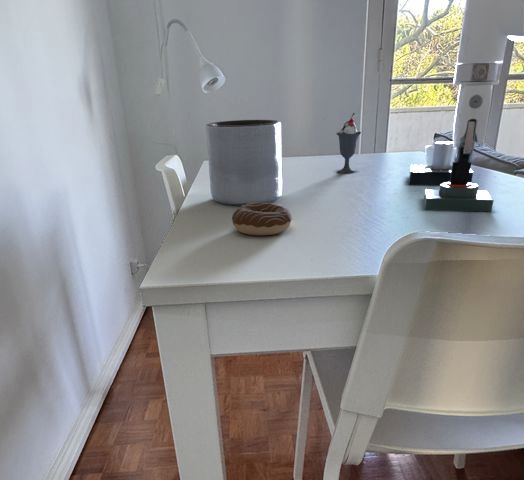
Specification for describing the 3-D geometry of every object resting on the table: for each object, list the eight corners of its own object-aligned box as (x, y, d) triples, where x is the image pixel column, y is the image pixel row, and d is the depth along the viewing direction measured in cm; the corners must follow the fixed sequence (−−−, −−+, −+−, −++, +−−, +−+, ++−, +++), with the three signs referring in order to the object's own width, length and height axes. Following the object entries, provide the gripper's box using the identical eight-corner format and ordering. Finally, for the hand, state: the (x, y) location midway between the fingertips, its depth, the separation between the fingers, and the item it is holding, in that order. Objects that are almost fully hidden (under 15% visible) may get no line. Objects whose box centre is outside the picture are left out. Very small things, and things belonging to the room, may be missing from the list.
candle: (415, 171, 130) (418, 146, 127) (440, 168, 133) (443, 143, 130) (438, 175, 123) (442, 149, 120) (464, 172, 126) (469, 146, 123)
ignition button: (467, 191, 94) (469, 182, 93) (469, 195, 91) (471, 186, 90) (446, 190, 95) (447, 181, 94) (447, 195, 92) (449, 185, 91)
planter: (207, 208, 99) (200, 126, 91) (215, 192, 113) (209, 121, 105) (283, 205, 98) (283, 123, 91) (281, 190, 112) (281, 118, 105)
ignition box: (484, 201, 96) (488, 181, 94) (491, 211, 89) (495, 190, 87) (423, 200, 99) (426, 180, 97) (424, 210, 92) (427, 188, 90)
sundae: (353, 174, 129) (357, 113, 122) (330, 172, 132) (333, 113, 125) (362, 170, 134) (366, 111, 126) (340, 169, 137) (343, 111, 130)
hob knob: (431, 166, 117) (434, 140, 114) (449, 167, 116) (453, 140, 113) (431, 169, 114) (435, 142, 111) (449, 169, 113) (454, 142, 110)
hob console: (466, 178, 119) (468, 164, 117) (470, 185, 110) (473, 171, 109) (409, 177, 122) (410, 164, 121) (409, 184, 114) (410, 171, 112)
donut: (239, 221, 89) (238, 199, 87) (295, 222, 87) (295, 200, 85) (225, 237, 80) (224, 213, 78) (287, 239, 78) (287, 214, 76)
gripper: (507, 74, 76) (483, 192, 85) (493, 75, 88) (474, 177, 97) (458, 76, 78) (440, 191, 87) (451, 76, 90) (436, 176, 99)
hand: (458, 183), depth 92 cm, fingers closed
